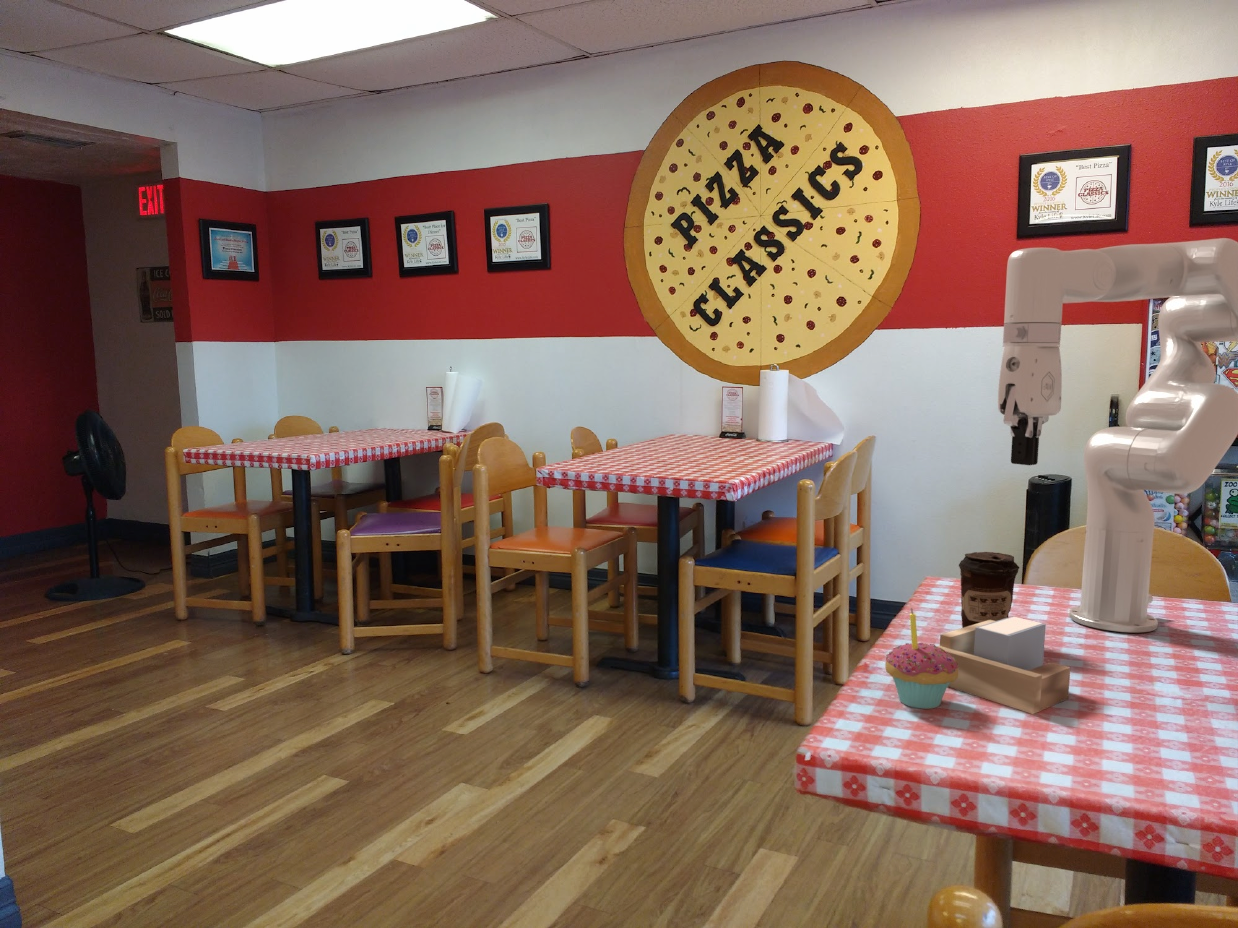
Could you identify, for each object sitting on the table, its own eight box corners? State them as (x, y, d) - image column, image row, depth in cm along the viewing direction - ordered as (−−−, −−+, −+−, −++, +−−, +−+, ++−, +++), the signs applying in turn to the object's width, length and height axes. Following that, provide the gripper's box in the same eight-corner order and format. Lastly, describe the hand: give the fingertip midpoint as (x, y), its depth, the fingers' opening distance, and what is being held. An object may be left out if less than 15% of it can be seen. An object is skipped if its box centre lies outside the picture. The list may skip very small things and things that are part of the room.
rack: (987, 661, 128) (989, 619, 127) (1087, 690, 117) (1090, 644, 117) (930, 681, 120) (933, 636, 119) (1033, 713, 109) (1036, 664, 108)
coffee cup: (1020, 651, 133) (1026, 563, 132) (959, 646, 135) (964, 559, 133) (1007, 633, 142) (1013, 550, 140) (951, 629, 143) (955, 547, 142)
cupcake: (919, 719, 107) (925, 619, 106) (868, 695, 114) (872, 601, 113) (971, 707, 111) (977, 610, 110) (918, 684, 118) (923, 593, 117)
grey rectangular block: (1008, 674, 123) (1012, 615, 122) (1041, 683, 120) (1045, 623, 119) (971, 688, 118) (975, 626, 117) (1004, 698, 114) (1008, 635, 113)
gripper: (1030, 335, 124) (1022, 470, 126) (1082, 337, 133) (1074, 463, 135) (979, 336, 130) (972, 465, 132) (1032, 338, 139) (1024, 458, 141)
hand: (1023, 463), depth 134 cm, fingers closed
